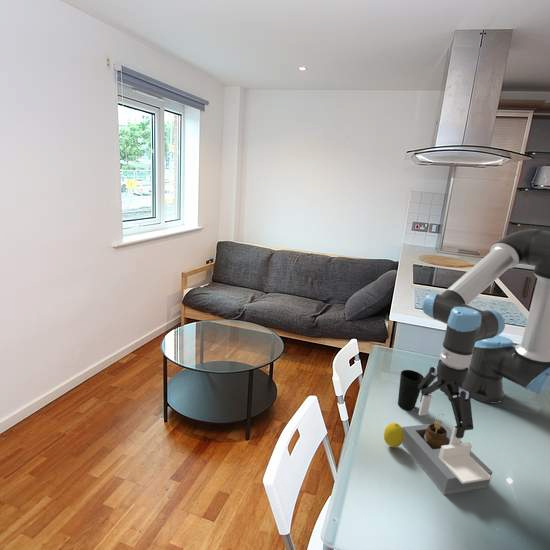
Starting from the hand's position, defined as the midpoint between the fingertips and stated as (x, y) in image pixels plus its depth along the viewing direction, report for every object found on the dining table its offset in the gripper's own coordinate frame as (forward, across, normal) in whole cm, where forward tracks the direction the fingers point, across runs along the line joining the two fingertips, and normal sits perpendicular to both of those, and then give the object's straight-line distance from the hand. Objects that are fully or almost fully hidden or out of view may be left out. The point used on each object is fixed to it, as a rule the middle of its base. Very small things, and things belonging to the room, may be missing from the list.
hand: (437, 429), depth 110 cm
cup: (+8, -22, +6) cm, 24 cm away
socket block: (+8, +4, 0) cm, 9 cm away
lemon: (+8, -4, -11) cm, 14 cm away
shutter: (+3, +12, 0) cm, 12 cm away
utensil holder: (+7, 0, 0) cm, 7 cm away
